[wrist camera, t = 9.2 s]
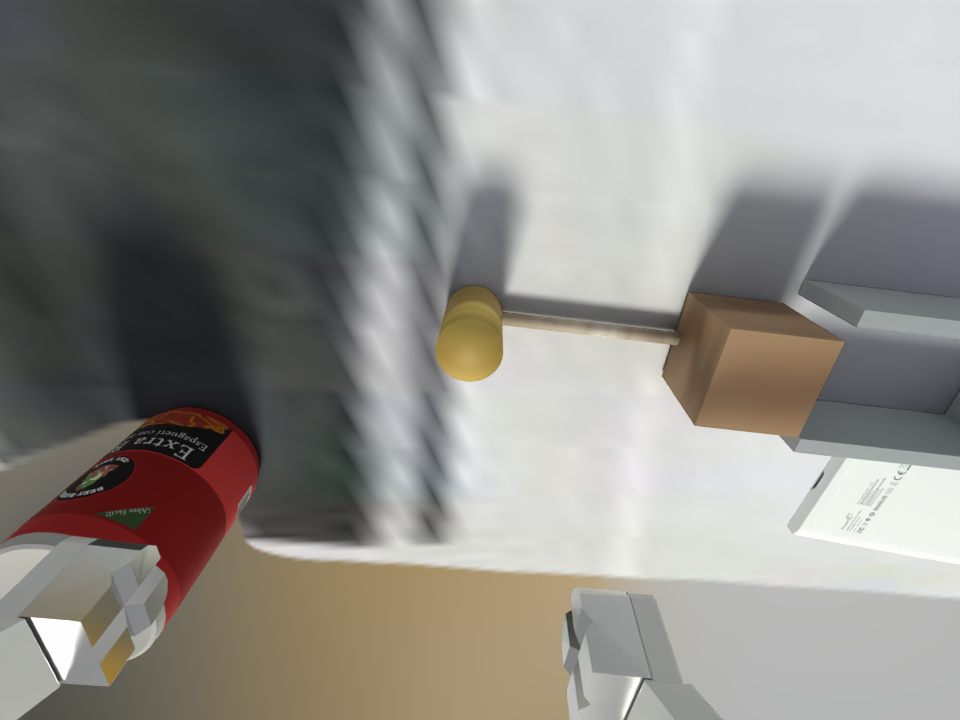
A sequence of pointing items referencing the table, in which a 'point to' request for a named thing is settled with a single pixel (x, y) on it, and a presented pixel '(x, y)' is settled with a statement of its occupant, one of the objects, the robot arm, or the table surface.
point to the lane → (878, 429)
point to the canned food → (150, 502)
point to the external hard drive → (885, 508)
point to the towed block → (680, 355)
